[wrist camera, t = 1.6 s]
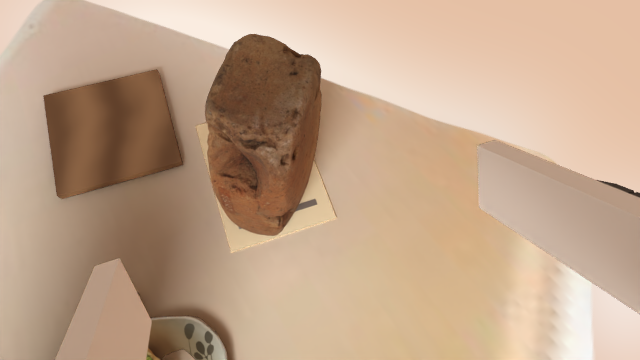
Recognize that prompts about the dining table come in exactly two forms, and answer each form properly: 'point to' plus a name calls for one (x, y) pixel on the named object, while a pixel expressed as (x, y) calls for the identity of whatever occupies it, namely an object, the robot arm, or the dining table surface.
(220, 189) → the brown tall rough part
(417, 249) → the dining table surface
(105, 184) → the plate
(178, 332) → the salad plate
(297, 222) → the letter
